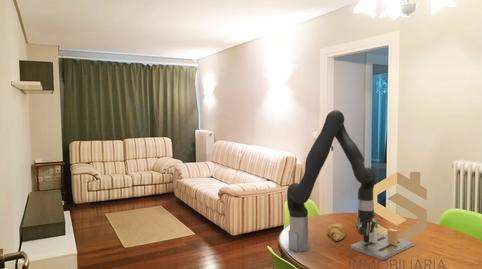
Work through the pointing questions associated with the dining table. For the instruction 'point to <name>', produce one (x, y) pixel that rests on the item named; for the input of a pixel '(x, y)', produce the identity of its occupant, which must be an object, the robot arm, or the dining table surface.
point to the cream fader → (373, 236)
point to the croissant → (336, 231)
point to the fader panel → (381, 247)
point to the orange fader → (392, 236)
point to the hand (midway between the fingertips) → (366, 242)
